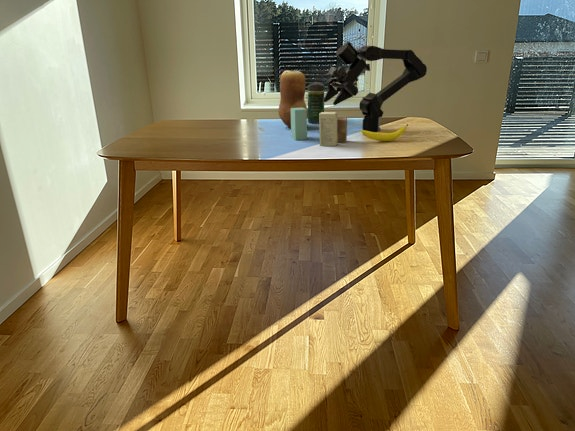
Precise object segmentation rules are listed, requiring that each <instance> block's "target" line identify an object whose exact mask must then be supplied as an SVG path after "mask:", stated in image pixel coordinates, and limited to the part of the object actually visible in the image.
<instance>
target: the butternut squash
mask: <svg viewBox="0 0 575 431" xmlns="http://www.w3.org/2000/svg"><path fill="white" fill-rule="evenodd" d="M279 80H280V81H279V82H280V83H279V94H280V100H279V106H278V116H279V118H280V120H281V121H282V123H283V124H284V125H285V126H286V127H288V129H291V108H301V107H302V108H305V109H307V118H308V105H307V104H306V101H305V95H306V76H305V74H304V73H303V72H301V71H298V70H288V69H287V70H284V71H283V72H282V73H281V75H280V77H279Z"/></svg>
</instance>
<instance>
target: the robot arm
mask: <svg viewBox="0 0 575 431" xmlns="http://www.w3.org/2000/svg"><path fill="white" fill-rule="evenodd" d="M335 55H336V56H337V57H338V58H339V59H340V60H341V62H343V63H344V65H348V67H347V68H345V67H343V66H338V67H336V66H330V68H329V71H328V73H327V74H328V75H329V76H332V77H330V78H328V79H327V80H326V85H327V91H326V93H325V95H324V103H327V102H328V101H329V100H331V99H333V98H334V97H335V96H336V97H335V99H334V100H333V102H332V105H334V106H337V105H338V104H340V103H342V102H344V101H346V100H349V99H350V98H353V97H355V96H357V94H358V93H359V88H358V87H357V86H356V85H355V84H354V83H356V82H358V81H359V77H360V75H362V73H363V72H364V71H367V72H370V71H371V64H370V63H367V62H373V61H374V62H375V61H381V60H382V59H383V60H384V59H389V60H390V59H391V60H402V62H403V66H404V69H403V72H402V74H401V75H399V76H398V77H397V78H396V79H394V80H393V81H392V82H390V83H389V84H387V85H385V87H384V88H381V89H380V90H379V91H377V93H372V92H369V93H367V94H366V95H365V96H364V97H361V100H360V102H359V110H360V111H361V114H362V116H364V118H363V119H362V130H365V131H370V132H375V133H379V131H380V130H381V127H380V124H381V122H380V121H381V118H382V117H383V116H384V111H383V110H382V109H381V108H382V106H383V104H384V102H385V101H386V100H388V99H389V98H391V97H392V96H394V95H395V94H396V93H398V91H400V90H402V88H404V87H406V86H407V85H408V84H409V83H412V82H415V81H419V80H420V79H423V78H424V77H425V76H426V75H427V72H428V68H427V65H426V64H425V63H424V62H423V61H422V60H421V59H420V57H418V56H417V54H415V52H414V51H413V50H412V49H387V48H385V49H384V48H383V47H378V46H375V45H363V46H361V48H359V49H356V48H355V47H354V46H353V44H352V43H351V42H350V41H346V42H345V43H344V44H343V45H341V46H340V47H339V48H338V49H337V50H336V53H335Z"/></svg>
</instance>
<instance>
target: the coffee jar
mask: <svg viewBox="0 0 575 431" xmlns="http://www.w3.org/2000/svg"><path fill="white" fill-rule="evenodd" d="M324 98H325V84H324V83H322V82H320V81H319V82H317V81H315V82H314V81H313V82H312V83H311V84H308V85H307V110H308V117H307V123H309V124H318V123H319V114H320V113H321V112H325V102H324Z"/></svg>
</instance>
